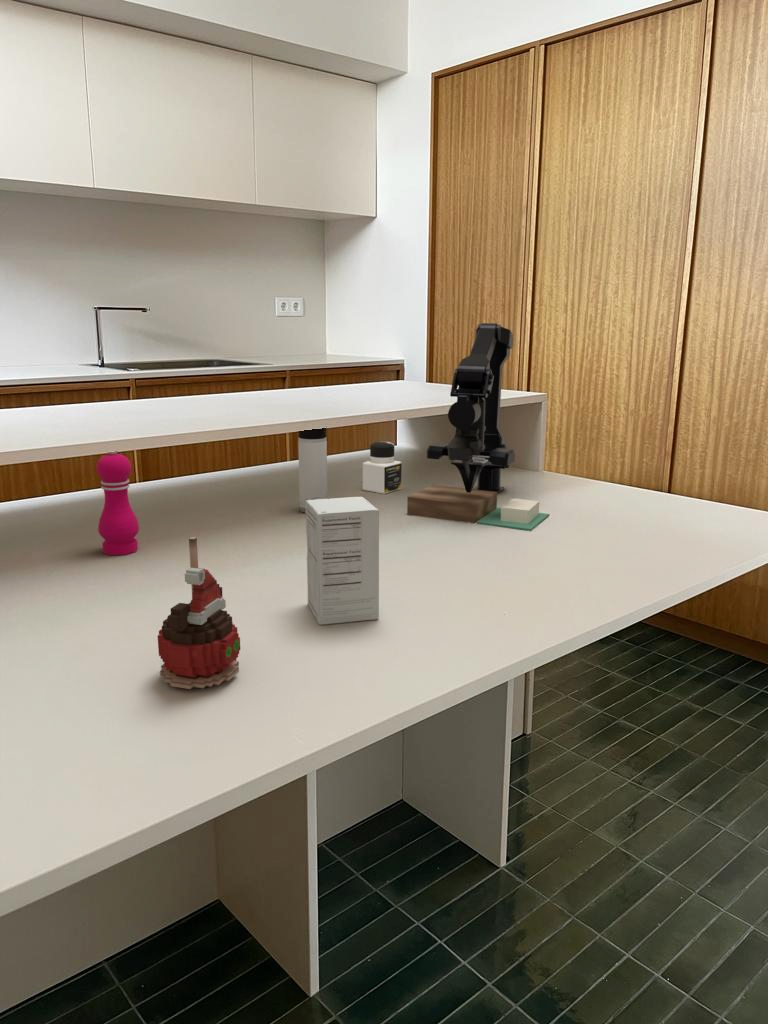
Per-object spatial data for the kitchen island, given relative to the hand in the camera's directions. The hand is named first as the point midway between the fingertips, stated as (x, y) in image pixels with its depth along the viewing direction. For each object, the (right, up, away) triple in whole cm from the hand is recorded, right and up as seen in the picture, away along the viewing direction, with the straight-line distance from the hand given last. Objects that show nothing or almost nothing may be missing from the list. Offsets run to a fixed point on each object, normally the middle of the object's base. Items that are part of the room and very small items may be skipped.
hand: (468, 492), depth 177 cm
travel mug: (-35, -4, +3) cm, 35 cm away
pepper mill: (-68, -12, -27) cm, 75 cm away
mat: (+9, -6, -3) cm, 12 cm away
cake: (-42, -25, -77) cm, 91 cm away
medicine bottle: (-19, +1, +24) cm, 31 cm away
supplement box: (-25, -20, -56) cm, 64 cm away
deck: (-3, -4, +3) cm, 6 cm away
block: (+11, -3, -4) cm, 12 cm away
